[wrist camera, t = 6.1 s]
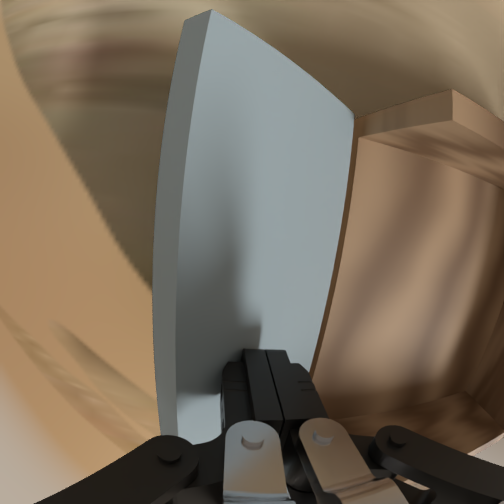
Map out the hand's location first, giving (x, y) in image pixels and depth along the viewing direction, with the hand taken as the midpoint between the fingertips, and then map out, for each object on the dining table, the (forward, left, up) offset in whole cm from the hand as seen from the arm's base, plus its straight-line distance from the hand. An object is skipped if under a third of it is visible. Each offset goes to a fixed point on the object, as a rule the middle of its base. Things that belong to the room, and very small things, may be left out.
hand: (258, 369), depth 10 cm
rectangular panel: (-4, 0, -6) cm, 7 cm away
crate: (-15, 0, -8) cm, 17 cm away
